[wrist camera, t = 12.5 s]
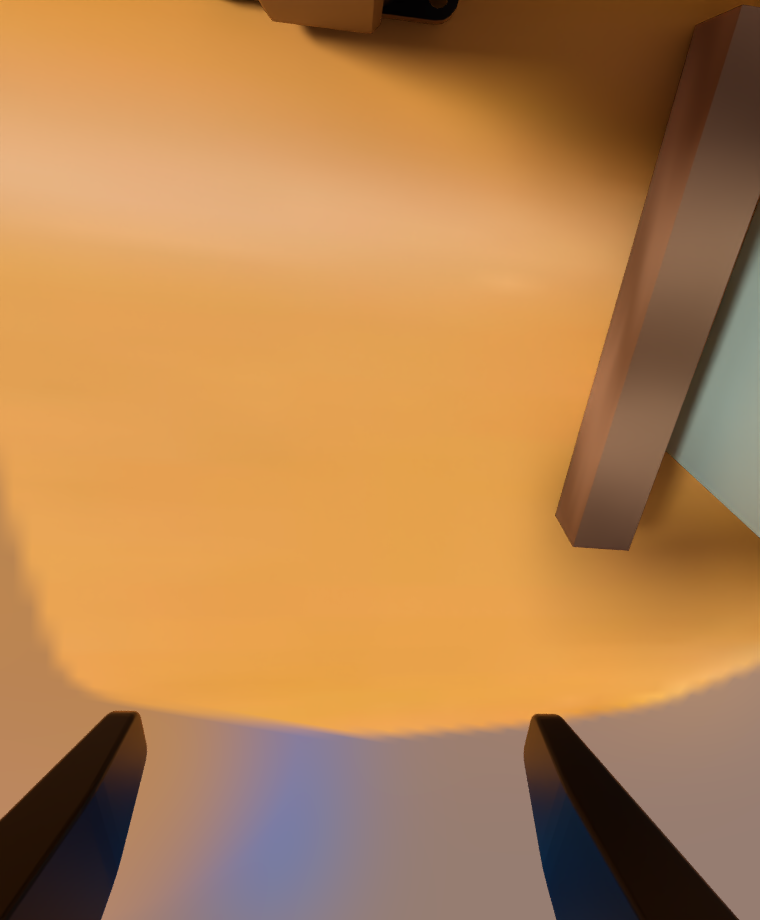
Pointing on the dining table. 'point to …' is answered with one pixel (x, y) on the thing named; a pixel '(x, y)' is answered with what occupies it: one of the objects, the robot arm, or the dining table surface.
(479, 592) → the dining table surface
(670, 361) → the shelf ledge
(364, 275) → the dining table surface
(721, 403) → the box
